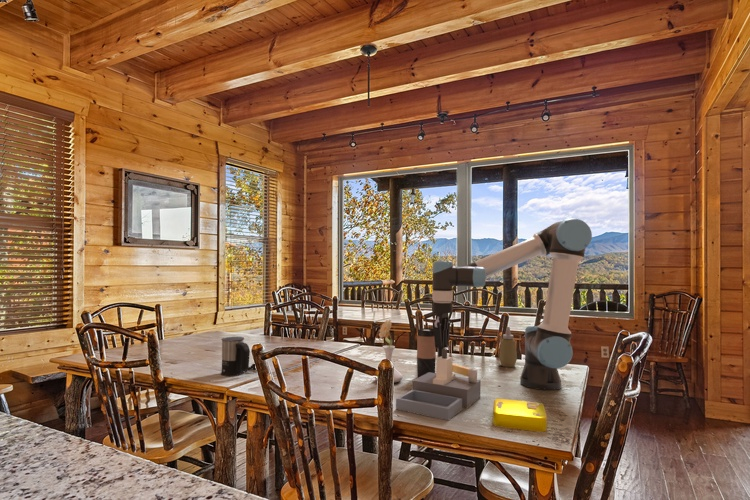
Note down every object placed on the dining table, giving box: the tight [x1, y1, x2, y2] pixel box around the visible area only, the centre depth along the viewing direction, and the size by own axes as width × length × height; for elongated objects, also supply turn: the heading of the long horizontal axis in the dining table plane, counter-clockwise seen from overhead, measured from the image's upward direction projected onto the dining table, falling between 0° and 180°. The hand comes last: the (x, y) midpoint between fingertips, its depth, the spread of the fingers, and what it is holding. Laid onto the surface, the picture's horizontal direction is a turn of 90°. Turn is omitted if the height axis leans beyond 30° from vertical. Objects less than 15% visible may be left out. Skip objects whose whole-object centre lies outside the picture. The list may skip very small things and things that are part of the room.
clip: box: [452, 362, 478, 383], centre depth 160 cm, size 18×3×4 cm, turn 34°
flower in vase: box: [373, 319, 403, 384], centre depth 175 cm, size 13×11×25 cm
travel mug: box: [416, 327, 437, 378], centre depth 181 cm, size 8×8×20 cm
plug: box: [433, 348, 456, 385], centre depth 155 cm, size 4×11×14 cm, turn 149°
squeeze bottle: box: [498, 326, 518, 368], centre depth 205 cm, size 8×8×18 cm
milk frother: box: [220, 336, 256, 377], centre depth 186 cm, size 14×16×15 cm
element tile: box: [492, 398, 548, 433], centre depth 134 cm, size 15×15×5 cm
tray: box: [395, 389, 463, 421], centre depth 142 cm, size 18×12×4 cm, turn 59°
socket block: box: [411, 372, 482, 409], centre depth 155 cm, size 20×14×6 cm
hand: (441, 365), depth 164 cm, fingers closed
